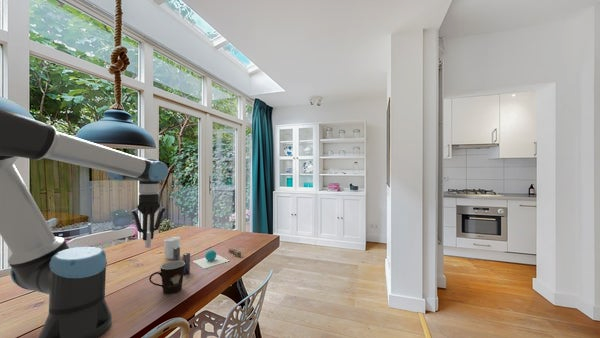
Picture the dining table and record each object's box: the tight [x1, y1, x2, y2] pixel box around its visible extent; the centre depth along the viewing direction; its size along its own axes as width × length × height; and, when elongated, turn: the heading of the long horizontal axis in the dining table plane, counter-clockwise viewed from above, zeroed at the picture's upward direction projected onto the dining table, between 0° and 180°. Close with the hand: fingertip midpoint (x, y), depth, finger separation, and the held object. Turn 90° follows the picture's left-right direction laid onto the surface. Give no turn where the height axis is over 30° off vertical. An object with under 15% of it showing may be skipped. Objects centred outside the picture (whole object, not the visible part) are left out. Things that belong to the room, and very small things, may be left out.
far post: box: [172, 246, 181, 261], centre depth 115 cm, size 3×3×9 cm
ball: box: [204, 249, 217, 261], centre depth 123 cm, size 6×6×6 cm
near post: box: [182, 252, 191, 276], centre depth 106 cm, size 3×3×9 cm
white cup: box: [163, 236, 181, 260], centre depth 128 cm, size 8×8×10 cm
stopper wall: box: [228, 248, 242, 258], centre depth 132 cm, size 10×2×2 cm, turn 47°
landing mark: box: [192, 254, 230, 270], centre depth 121 cm, size 14×14×1 cm
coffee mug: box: [148, 260, 185, 295], centre depth 90 cm, size 12×9×10 cm
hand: (147, 247), depth 101 cm, fingers closed
